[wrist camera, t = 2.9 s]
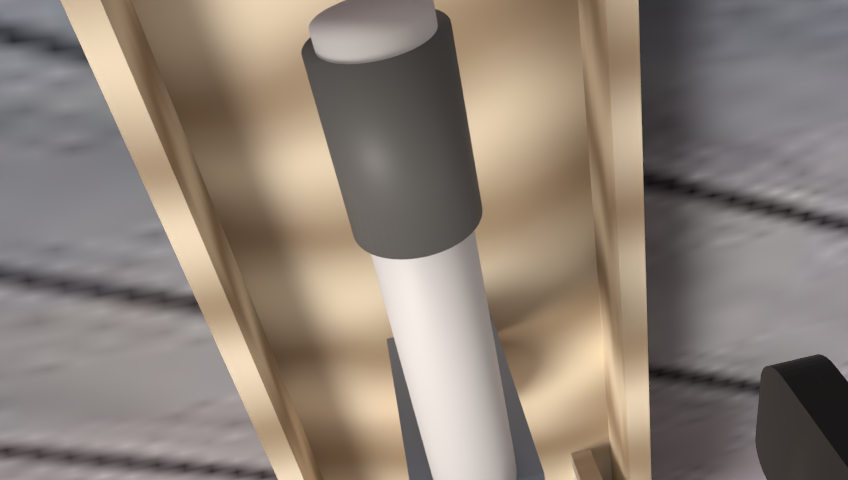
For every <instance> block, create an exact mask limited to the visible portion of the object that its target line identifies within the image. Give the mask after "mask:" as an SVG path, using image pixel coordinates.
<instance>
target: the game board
mask: <svg viewBox="0 0 848 480" xmlns="http://www.w3.org/2000/svg"><path fill="white" fill-rule="evenodd" d="M343 1H345V0H61V2H62V4H63V7H64V9H65V11H66V13H67V15H68V18H69V20H70V22H71V24H72V26H73V29H74V31H75V33H76V35H77V37H78V40H79V42H80V44H81V46H82V48H83V51H84V53H85V55H86V57H87V59H88V62H89V64H90V66H91V68H92V70H93V73H94V75H95V77H96V79H97V81H98V84H99V86H100V88H101V90H102V92H103V95H104V97H105V99H106V101H107V103H108V106H109V108H110V110H111V112H112V115H113V117H114V119H115V121H116V123H117V126H118V128H119V130H120V132H121V134H122V137H123V139H124V141H125V143H126V145H127V148H128V150H129V152H130V154H131V156H132V159H133V161H134V163H135V165H136V167H137V170H138V172H139V174H140V176H141V178H142V181H143V183H144V185H145V187H146V189H147V192H148V194H149V196H150V198H151V200H152V203H153V205H154V207H155V209H156V211H157V214H158V216H159V218H160V220H161V222H162V225H163V227H164V229H165V231H166V233H167V236H168V238H169V240H170V242H171V244H172V247H173V249H174V251H175V253H176V256H177V258H178V260H179V262H180V264H181V267H182V269H183V271H184V273H185V275H186V278H187V280H188V282H189V284H190V286H191V289H192V291H193V293H194V295H195V297H196V300H197V302H198V304H199V306H200V308H201V311H202V313H203V315H204V317H205V319H206V322H207V324H208V326H209V328H210V330H211V333H212V335H213V337H214V339H215V341H216V344H217V346H218V348H219V350H220V352H221V355H222V357H223V359H224V361H225V363H226V366H227V368H228V370H229V372H230V374H231V377H232V379H233V381H234V383H235V386H236V388H237V390H238V392H239V394H240V397H241V399H242V401H243V403H244V405H245V408H246V410H247V412H248V414H249V416H250V419H251V421H252V423H253V425H254V427H255V430H256V432H257V434H258V436H259V438H260V441H261V443H262V445H263V447H264V449H265V452H266V454H267V456H268V458H269V460H270V463H271V465H272V467H273V469H274V471H275V474H276V476H277V478H278V480H409V475H408V468H407V462H406V456H405V450H404V444H403V438H402V431H401V425H400V419H399V413H398V407H397V401H396V394H395V388H394V382H393V376H392V370H391V364H390V358H389V351H388V345H387V339H388V338H392V337H394V336H393V333H392V329H391V325H390V322H389V318H388V315H387V311H386V307H385V304H384V300H383V297H382V293H381V289H380V286H379V282H378V278H377V275H376V271H375V268H374V264H373V260H372V257H371V254H370V253H368V252H366V251H365V250H363V249H362V248H361V247H360V246H359V245H358V244H357V243H356V241H355V239H354V236H353V232H352V229H351V225H350V222H349V218H348V215H347V211H346V208H345V205H344V201H343V198H342V194H341V191H340V187H339V184H338V180H337V177H336V173H335V170H334V166H333V163H332V159H331V156H330V152H329V149H328V145H327V142H326V138H325V135H324V131H323V128H322V125H321V121H320V118H319V114H318V111H317V107H316V104H315V100H314V97H313V93H312V90H311V86H310V83H309V79H308V76H307V72H306V69H305V65H304V62H303V58H302V55H301V51H302V48H303V45H304V44H305V42H306V41H307V40H308V39H309V38H310V37H311V36H310V33H309V24H310V22H311V21H312V20H313V19H314V18H315V17H316V16H317V15H318V14H319V13H321V12H322V11H324V10H326V9H327V8H329V7H331V6H333V5H335V4H338V3H340V2H343ZM433 1H434V6H435V9H437V10H440V11H442V12H444V13H445V14H446V15H448V17H449V18H450V20H451V24H452V30H453V36H454V42H455V48H456V54H457V60H458V66H459V71H460V77H461V83H462V89H463V95H464V101H465V107H466V113H467V119H468V125H469V131H470V137H471V143H472V149H473V155H474V161H475V167H476V173H477V179H478V185H479V191H480V197H481V202H482V211H483V213H482V218H481V220H480V223H479V224H478V226H477V228H476V229H475V236H476V242H477V247H478V253H479V258H480V264H481V270H482V275H483V281H484V286H485V292H486V298H487V303H488V309H489V314H491V316H492V319H493V322H494V325H495V328H496V331H497V334H498V337H499V340H500V343H501V346H502V349H503V352H504V355H505V358H506V360H507V363H508V366H509V369H510V372H511V375H512V378H513V381H514V384H515V387H516V390H517V393H518V396H519V399H520V402H521V405H522V408H523V411H524V414H525V417H526V420H527V423H528V426H529V429H530V432H531V435H532V438H533V441H534V444H535V447H536V450H537V453H538V456H539V459H540V462H541V465H542V468H543V471H544V475H545V480H651V447H650V410H649V373H648V336H647V298H646V261H645V224H644V186H643V149H642V112H641V75H640V37H639V0H433Z"/></svg>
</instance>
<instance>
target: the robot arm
mask: <svg viewBox="0 0 848 480" xmlns="http://www.w3.org/2000/svg"><path fill="white" fill-rule="evenodd" d="M756 449H757V454H758V458H759V461H760V464H761V467H762V470H763V472H764V474H765V476H766V479H767V480H848V381H847V380H846V379H845V378H844V376H843V375H842V374H841V373H840V372H839V370H838V369H837V368H836V367H835V365H834V364H833V363H832V362H831V361H830V360H829V359H828V358H826V357H825V356H823V355H820V354H819V355H813V356H809V357H805V358H800V359H796V360H792V361H788V362H783V363H779V364H775V365H770V366H766V367H765V368H764V369H763V371H762V373H761V381H760V393H759V404H758V415H757V426H756Z"/></svg>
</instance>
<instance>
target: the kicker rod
mask: <svg viewBox="0 0 848 480" xmlns="http://www.w3.org/2000/svg"><path fill="white" fill-rule="evenodd" d="M309 33H310V36H311V37H310V38H309V39H308V40H307V41H306V42H305V44H304V45H303V48H302V51H301V55H302V58H303V62H304V65H305V69H306V72H307V76H308V79H309V83H310V86H311V90H312V93H313V97H314V100H315V104H316V107H317V111H318V114H319V118H320V121H321V125H322V128H323V131H324V135H325V138H326V142H327V145H328V149H329V152H330V156H331V159H332V163H333V166H334V170H335V173H336V177H337V180H338V184H339V187H340V191H341V194H342V198H343V201H344V205H345V208H346V211H347V215H348V218H349V222H350V225H351V229H352V232H353V236H354V239H355V241H356V243H357V244H358V245H359V246H360V247H361V248H362V249H363V250H365V251H366V252H368V253H370V254H371V257H372V260H373V264H374V268H375V271H376V275H377V278H378V282H379V286H380V289H381V293H382V297H383V300H384V304H385V307H386V311H387V315H388V318H389V322H390V325H391V329H392V333H393V336H394V337H392V338H388V339H387V345H388V351H389V358H390V364H391V370H392V376H393V382H394V388H395V394H396V401H397V407H398V413H399V419H400V425H401V431H402V438H403V444H404V450H405V456H406V462H407V468H408V475H409V480H545V475H544V471H543V468H542V465H541V462H540V459H539V456H538V453H537V450H536V447H535V444H534V441H533V438H532V435H531V432H530V429H529V426H528V423H527V420H526V417H525V414H524V411H523V408H522V405H521V402H520V399H519V396H518V393H517V390H516V387H515V384H514V381H513V378H512V375H511V372H510V369H509V366H508V363H507V360H506V358H505V355H504V352H503V349H502V346H501V343H500V340H499V337H498V334H497V331H496V328H495V325H494V322H493V319H492V316H491V314H489V309H488V303H487V298H486V292H485V286H484V281H483V275H482V270H481V264H480V258H479V253H478V247H477V242H476V236H475V229H476V228H477V226H478V224H479V223H480V220H481V218H482V213H483V211H482V202H481V197H480V191H479V185H478V179H477V173H476V167H475V161H474V155H473V149H472V143H471V137H470V131H469V125H468V119H467V113H466V107H465V101H464V95H463V89H462V83H461V77H460V71H459V66H458V60H457V54H456V48H455V42H454V36H453V30H452V24H451V20H450V18H449V17H448V15H446V14H445V13H444V12H442V11H440V10H437V9H435V6H434V1H433V0H345V1H343V2H340V3H338V4H335V5H333V6H331V7H329V8H327V9H326V10H324V11H322V12H321V13H319V14H318V15H317V16H316V17H315V18H314V19H313V20H312V21H311V22H310V24H309Z"/></svg>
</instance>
